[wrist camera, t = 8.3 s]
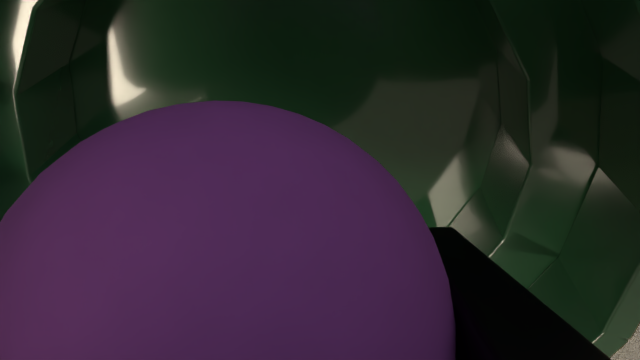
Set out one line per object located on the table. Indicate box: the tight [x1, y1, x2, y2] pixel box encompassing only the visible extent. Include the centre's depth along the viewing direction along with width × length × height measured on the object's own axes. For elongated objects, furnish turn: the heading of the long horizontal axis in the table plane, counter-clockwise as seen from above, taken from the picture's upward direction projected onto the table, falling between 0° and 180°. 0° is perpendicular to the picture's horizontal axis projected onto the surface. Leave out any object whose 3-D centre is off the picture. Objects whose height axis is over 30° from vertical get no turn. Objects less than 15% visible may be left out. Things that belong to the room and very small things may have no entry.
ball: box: [0, 101, 456, 360], centre depth 7 cm, size 6×6×6 cm
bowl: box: [0, 0, 640, 358], centre depth 11 cm, size 14×14×6 cm
